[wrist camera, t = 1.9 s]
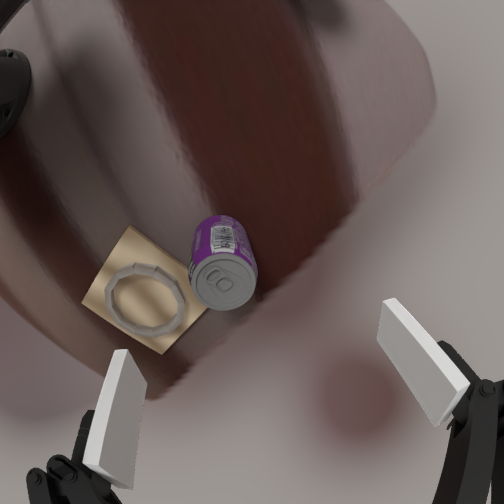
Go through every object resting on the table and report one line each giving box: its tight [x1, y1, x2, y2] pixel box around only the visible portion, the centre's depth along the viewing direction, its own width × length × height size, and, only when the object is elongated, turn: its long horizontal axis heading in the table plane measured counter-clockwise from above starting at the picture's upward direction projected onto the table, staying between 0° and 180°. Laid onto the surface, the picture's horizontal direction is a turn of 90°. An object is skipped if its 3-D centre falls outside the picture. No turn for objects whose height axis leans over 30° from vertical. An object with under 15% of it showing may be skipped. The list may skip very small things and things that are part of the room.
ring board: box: [82, 225, 208, 354], centre depth 38 cm, size 16×16×2 cm
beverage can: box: [188, 215, 258, 311], centre depth 32 cm, size 7×7×12 cm
